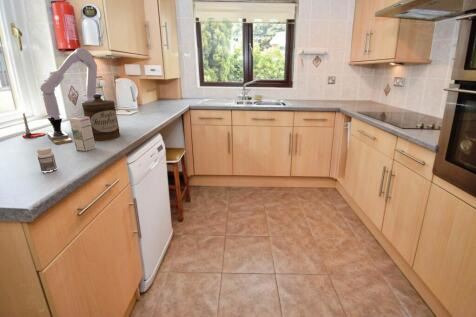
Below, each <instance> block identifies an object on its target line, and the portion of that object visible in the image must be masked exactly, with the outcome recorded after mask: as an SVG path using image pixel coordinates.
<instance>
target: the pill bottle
mask: <svg viewBox="0 0 476 317" xmlns="http://www.w3.org/2000/svg"><path fill="white" fill-rule="evenodd" d="M36 152H37V154H38V155H37V160H38V163H39V164H38V165H39V168H40V170H41V172H42V171H50V170H54V169H56V168H57V169H58V165H57V163H56V159H55V155H54V153H53V152H52V148H51V147H50V146H46V147H40V148H37V150H36Z"/></svg>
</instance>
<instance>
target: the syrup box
mask: <svg viewBox="0 0 476 317" xmlns="http://www.w3.org/2000/svg"><path fill="white" fill-rule="evenodd" d="M68 120H69V124H70V127H71V132H72V133H71V134H72V136H73V141H74V146H75V150H76V151H77V150H81V151H80V152H88V151H87V150H89V151H91V150H90V149H92V150H94V149H93V148H95V149H97V148H96V141H94V137H93V132H92V127H91V123H90V118H89V117H85V116H80V115H79V116H73V117H70V118H68Z"/></svg>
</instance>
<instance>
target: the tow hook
mask: <svg viewBox="0 0 476 317" xmlns="http://www.w3.org/2000/svg"><path fill="white" fill-rule="evenodd" d="M22 117H23V124H24V127H25V128H24V130H25V134H22V138H25V139H35V138H37V137H38V138H40V137H43V136H45V135H46V133H45V132H34V133H33V132H32V133H31V130H30V127H29V124H28V119H27V117H26V114H25V112H24V113H22Z"/></svg>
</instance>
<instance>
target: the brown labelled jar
mask: <svg viewBox="0 0 476 317" xmlns="http://www.w3.org/2000/svg"><path fill="white" fill-rule="evenodd" d="M93 97H94V98H95V99H94V100H93V101H89V102H85V101H84V102H82V103H81V106H82V110H83V117H89V118H90V123H91V127H92V132H93V137H94V142H107V141H112V140H116V139H118V138H120V136H121V133H120V127H119V126H120V125H119V121H118V120H119V119H118V115H117V111H116V110H117V109H116V103H115V101H114V100H111V99H110V100H109V99H108V100H107V99H105V100H103V99H102V98H101V97H102V96H101V95H100V94H99V93H96V94H95V95H94V96H93Z"/></svg>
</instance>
